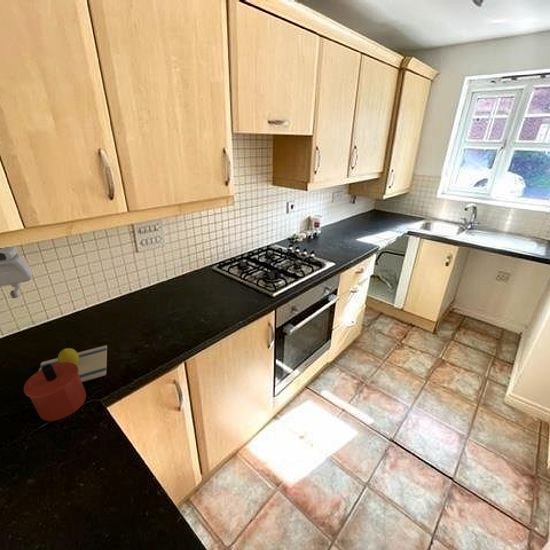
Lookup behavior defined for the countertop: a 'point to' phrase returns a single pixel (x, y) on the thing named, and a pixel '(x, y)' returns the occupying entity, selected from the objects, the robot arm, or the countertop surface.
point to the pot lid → (50, 379)
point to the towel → (88, 363)
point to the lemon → (68, 356)
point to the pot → (61, 402)
